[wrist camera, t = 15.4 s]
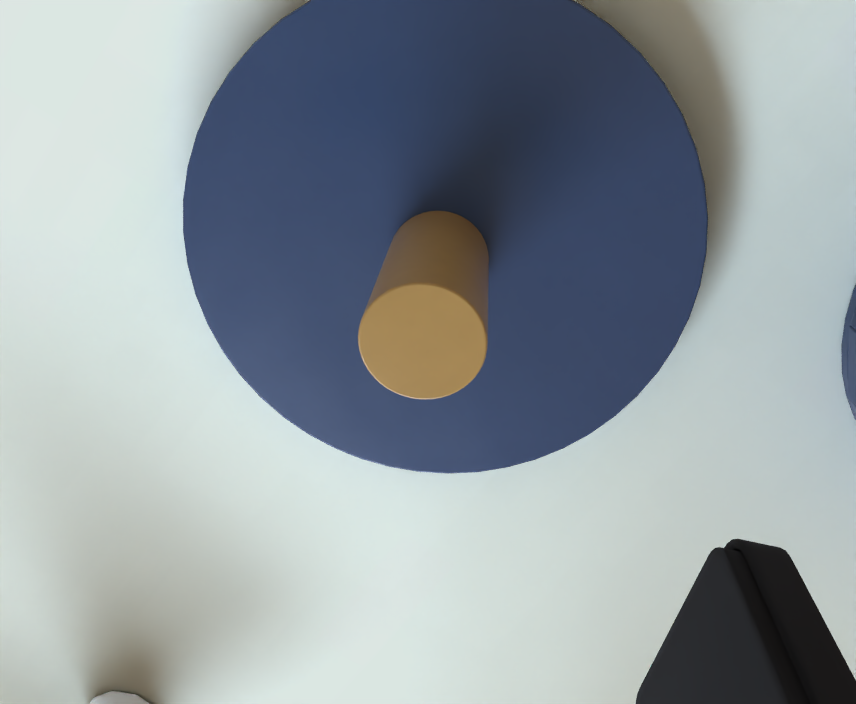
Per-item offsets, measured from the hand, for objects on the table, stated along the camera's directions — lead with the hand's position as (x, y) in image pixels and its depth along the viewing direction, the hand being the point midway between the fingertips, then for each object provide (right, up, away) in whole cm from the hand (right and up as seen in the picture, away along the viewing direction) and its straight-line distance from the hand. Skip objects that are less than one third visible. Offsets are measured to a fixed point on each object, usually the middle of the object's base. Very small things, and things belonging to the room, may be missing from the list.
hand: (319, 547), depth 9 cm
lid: (+2, +5, +12) cm, 13 cm away
